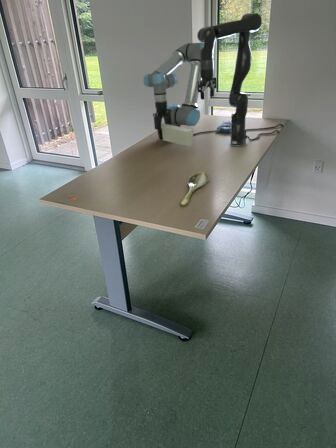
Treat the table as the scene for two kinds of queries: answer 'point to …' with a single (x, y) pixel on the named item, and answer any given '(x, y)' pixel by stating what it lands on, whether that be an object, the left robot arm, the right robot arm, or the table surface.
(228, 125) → the spray gun
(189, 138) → the bar
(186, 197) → the spoon
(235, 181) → the table surface
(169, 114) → the left robot arm
